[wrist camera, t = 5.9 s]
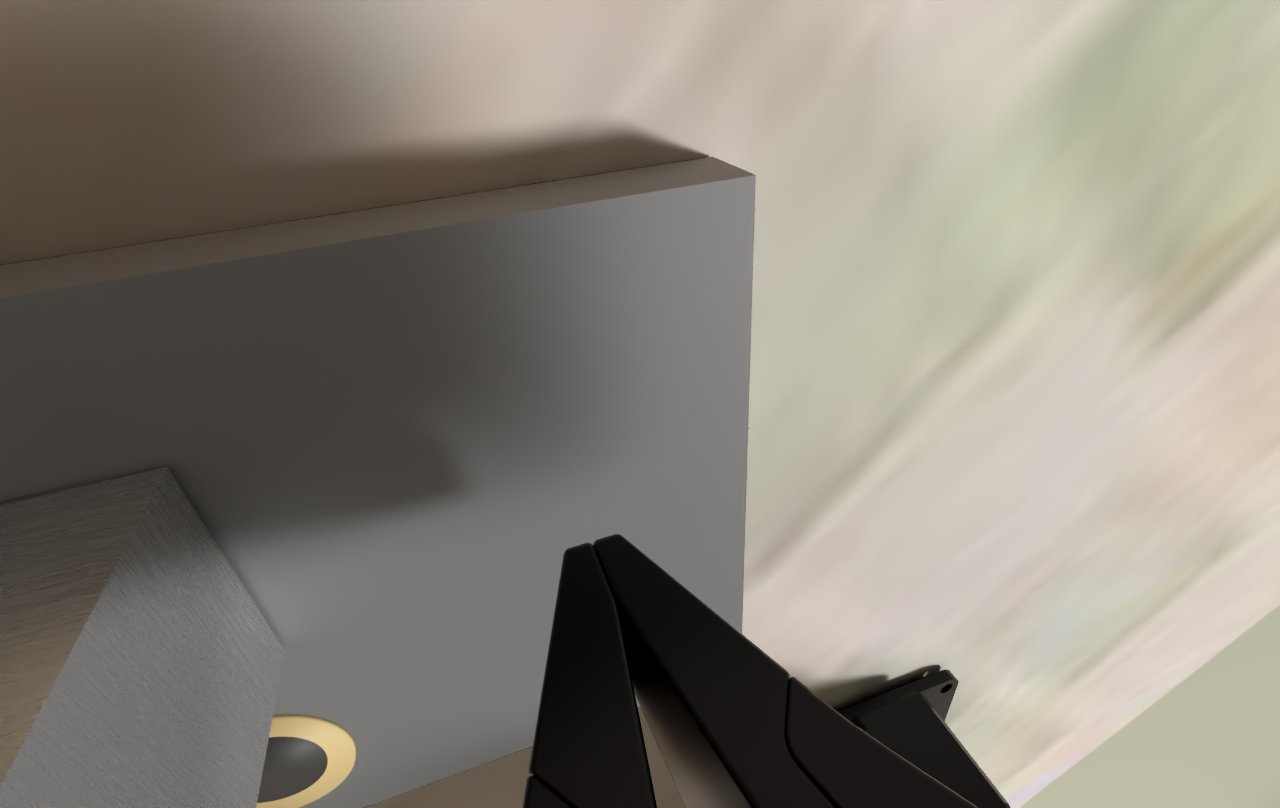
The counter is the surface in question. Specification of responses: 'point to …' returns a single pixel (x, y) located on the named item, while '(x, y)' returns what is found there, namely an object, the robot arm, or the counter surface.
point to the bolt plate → (411, 435)
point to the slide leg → (128, 654)
